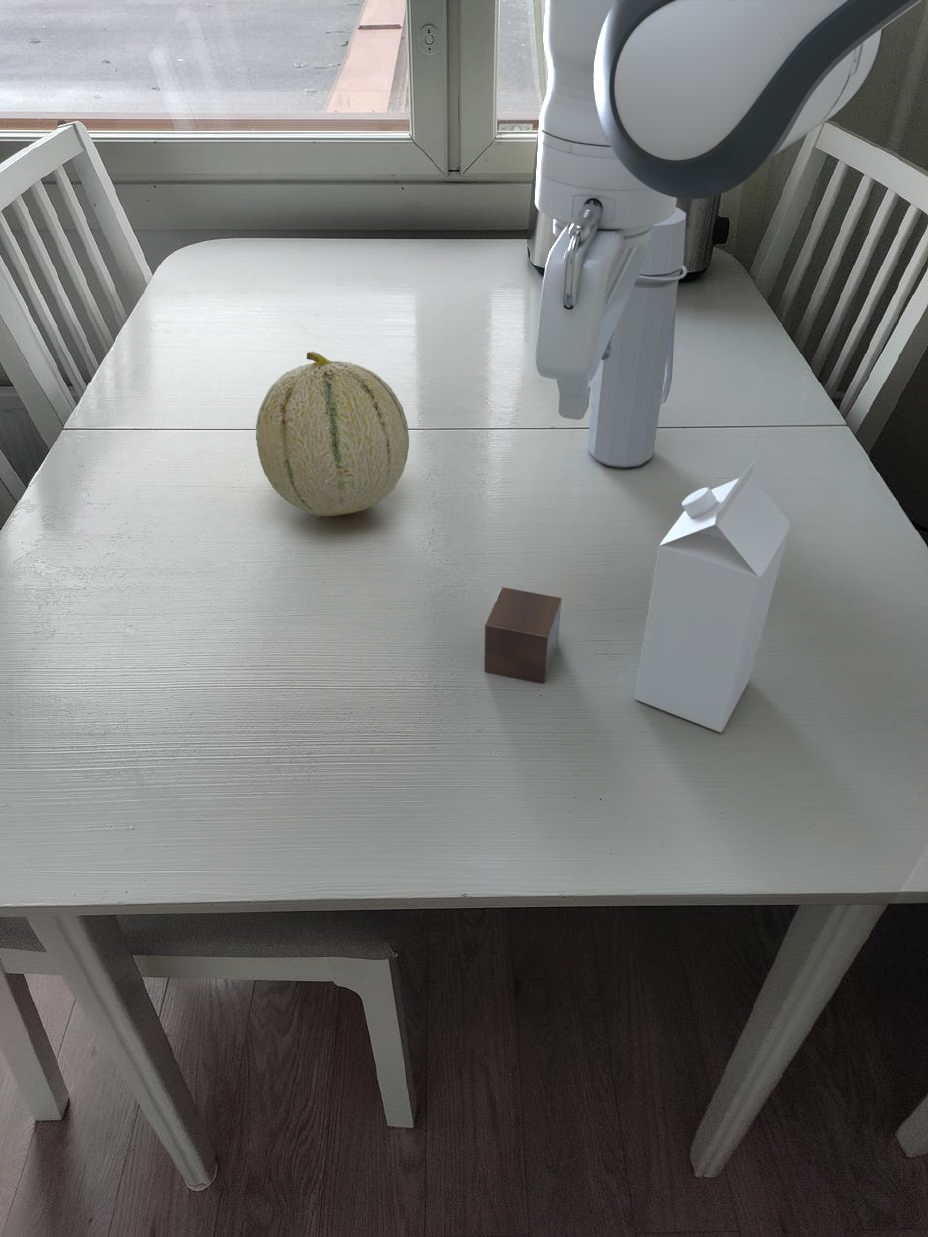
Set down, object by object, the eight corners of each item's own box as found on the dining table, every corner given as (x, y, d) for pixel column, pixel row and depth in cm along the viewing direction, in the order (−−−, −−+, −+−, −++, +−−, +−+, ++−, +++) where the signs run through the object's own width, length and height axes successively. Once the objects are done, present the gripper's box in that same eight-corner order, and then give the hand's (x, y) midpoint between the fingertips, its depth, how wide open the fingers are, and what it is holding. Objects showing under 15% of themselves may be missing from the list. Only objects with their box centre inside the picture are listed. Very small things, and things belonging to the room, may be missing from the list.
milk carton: (750, 678, 77) (804, 474, 64) (721, 735, 72) (773, 527, 60) (666, 648, 79) (703, 447, 67) (633, 701, 75) (665, 495, 62)
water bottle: (615, 480, 99) (644, 233, 83) (571, 446, 104) (590, 208, 88) (683, 456, 103) (724, 215, 86) (637, 425, 108) (668, 192, 92)
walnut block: (558, 643, 80) (561, 597, 77) (544, 684, 76) (547, 637, 73) (500, 632, 81) (501, 586, 78) (484, 671, 77) (484, 625, 74)
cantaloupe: (336, 565, 88) (320, 419, 78) (235, 507, 95) (208, 367, 86) (443, 498, 97) (441, 359, 87) (343, 449, 104) (330, 315, 94)
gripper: (630, 239, 51) (603, 463, 60) (679, 140, 66) (651, 331, 75) (515, 227, 52) (506, 447, 61) (589, 132, 67) (572, 321, 76)
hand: (586, 383), depth 68 cm, fingers open, 8 cm apart
